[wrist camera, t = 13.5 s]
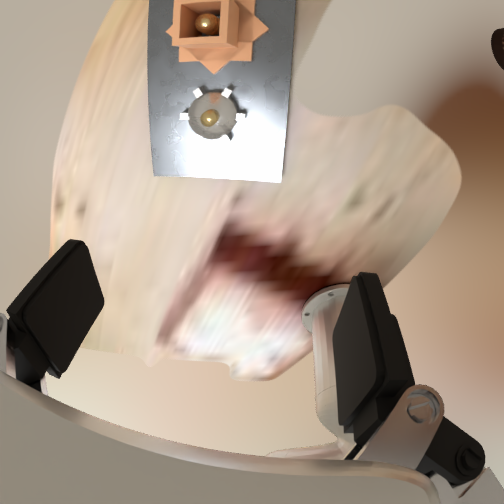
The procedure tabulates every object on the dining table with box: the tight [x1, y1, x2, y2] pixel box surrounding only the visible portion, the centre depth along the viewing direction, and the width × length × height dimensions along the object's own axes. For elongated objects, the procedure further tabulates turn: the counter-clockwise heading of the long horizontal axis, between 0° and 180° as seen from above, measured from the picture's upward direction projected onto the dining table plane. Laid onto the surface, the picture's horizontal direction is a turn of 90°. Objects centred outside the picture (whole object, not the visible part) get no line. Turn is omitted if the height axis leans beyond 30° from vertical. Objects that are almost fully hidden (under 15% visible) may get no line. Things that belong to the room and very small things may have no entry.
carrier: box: [148, 0, 296, 183], centre depth 24 cm, size 15×23×7 cm, turn 178°
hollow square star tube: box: [166, 0, 269, 74], centre depth 19 cm, size 10×10×7 cm
